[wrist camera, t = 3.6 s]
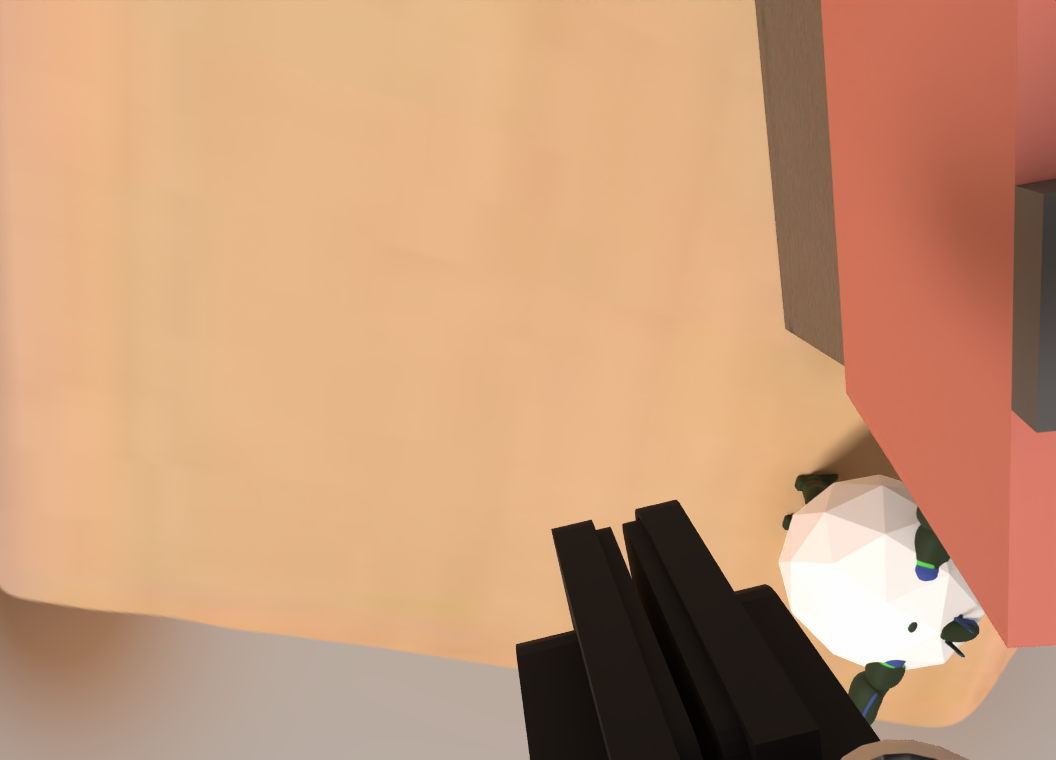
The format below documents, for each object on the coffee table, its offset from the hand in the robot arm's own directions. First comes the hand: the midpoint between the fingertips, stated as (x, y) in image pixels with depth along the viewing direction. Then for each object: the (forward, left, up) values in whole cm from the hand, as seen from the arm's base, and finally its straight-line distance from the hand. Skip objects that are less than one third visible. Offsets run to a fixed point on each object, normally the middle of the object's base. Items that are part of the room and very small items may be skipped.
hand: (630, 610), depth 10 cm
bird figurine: (+21, +16, -33) cm, 42 cm away
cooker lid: (0, +13, -14) cm, 19 cm away
